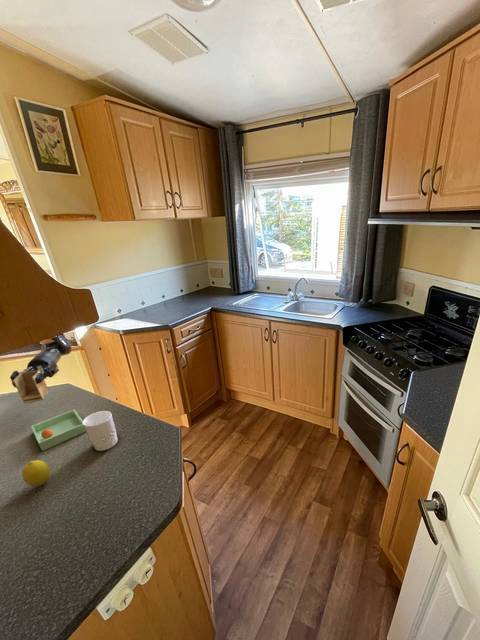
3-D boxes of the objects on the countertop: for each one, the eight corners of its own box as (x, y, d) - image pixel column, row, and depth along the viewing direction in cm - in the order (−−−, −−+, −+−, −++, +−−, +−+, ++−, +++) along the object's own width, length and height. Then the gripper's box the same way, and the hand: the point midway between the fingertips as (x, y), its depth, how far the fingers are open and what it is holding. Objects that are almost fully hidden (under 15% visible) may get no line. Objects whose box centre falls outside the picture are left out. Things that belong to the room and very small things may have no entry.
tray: (42, 450, 91) (38, 443, 90) (34, 433, 100) (30, 426, 99) (87, 430, 100) (85, 423, 99) (76, 415, 108) (74, 409, 107)
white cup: (91, 455, 88) (80, 429, 84) (93, 440, 95) (84, 415, 91) (119, 447, 91) (110, 421, 87) (120, 433, 98) (112, 408, 94)
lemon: (58, 481, 80) (47, 458, 76) (35, 495, 76) (23, 473, 72) (48, 473, 83) (37, 451, 79) (25, 487, 78) (13, 465, 75)
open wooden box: (30, 394, 105) (20, 373, 101) (49, 391, 107) (39, 370, 103) (23, 403, 100) (12, 380, 96) (43, 400, 102) (33, 377, 98)
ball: (54, 434, 96) (48, 427, 95) (45, 440, 94) (38, 433, 94) (54, 434, 98) (49, 427, 98) (45, 440, 97) (39, 433, 96)
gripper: (17, 358, 109) (-5, 377, 95) (61, 351, 113) (46, 369, 99) (25, 375, 112) (5, 397, 98) (67, 368, 116) (54, 388, 102)
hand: (26, 383), depth 98 cm, fingers closed on open wooden box, 6 cm apart
